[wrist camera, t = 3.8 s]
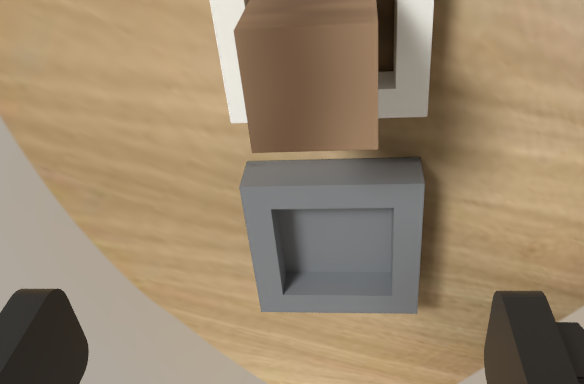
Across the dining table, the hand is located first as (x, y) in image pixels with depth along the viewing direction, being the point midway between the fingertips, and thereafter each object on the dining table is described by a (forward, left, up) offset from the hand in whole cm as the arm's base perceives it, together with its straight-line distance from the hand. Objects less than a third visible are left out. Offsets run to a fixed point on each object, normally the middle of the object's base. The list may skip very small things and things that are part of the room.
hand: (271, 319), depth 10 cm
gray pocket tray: (0, +13, -19) cm, 23 cm away
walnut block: (0, 0, -19) cm, 19 cm away
